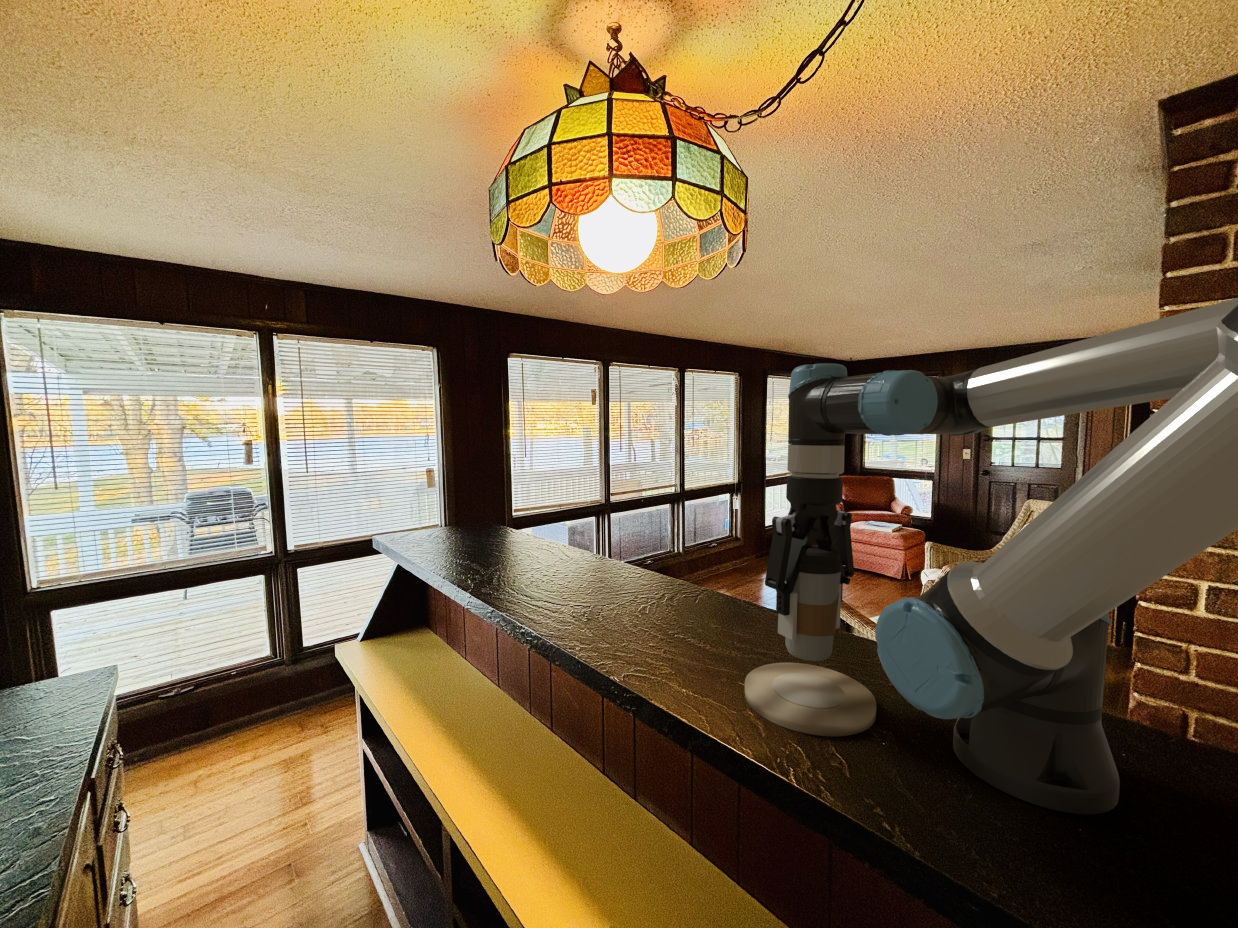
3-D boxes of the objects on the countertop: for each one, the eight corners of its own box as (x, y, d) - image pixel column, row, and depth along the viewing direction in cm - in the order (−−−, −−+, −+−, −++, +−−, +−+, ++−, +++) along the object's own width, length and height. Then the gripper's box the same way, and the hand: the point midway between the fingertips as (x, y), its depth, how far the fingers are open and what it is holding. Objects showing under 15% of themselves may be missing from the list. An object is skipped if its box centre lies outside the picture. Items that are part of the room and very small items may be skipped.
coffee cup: (845, 667, 70) (849, 559, 69) (781, 661, 72) (784, 556, 71) (832, 642, 79) (836, 545, 78) (775, 638, 80) (778, 542, 79)
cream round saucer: (904, 714, 72) (904, 702, 72) (813, 751, 64) (814, 738, 63) (803, 662, 88) (803, 653, 88) (719, 687, 79) (719, 676, 79)
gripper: (842, 470, 82) (836, 610, 83) (739, 475, 72) (735, 634, 73) (886, 474, 75) (879, 626, 77) (779, 480, 65) (774, 654, 67)
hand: (809, 630), depth 75 cm, fingers closed on coffee cup, 8 cm apart
